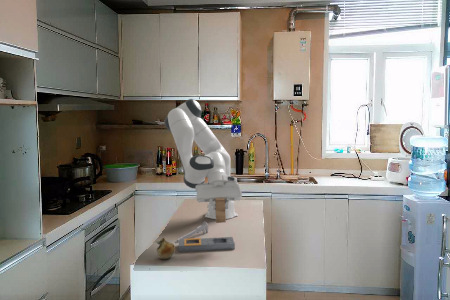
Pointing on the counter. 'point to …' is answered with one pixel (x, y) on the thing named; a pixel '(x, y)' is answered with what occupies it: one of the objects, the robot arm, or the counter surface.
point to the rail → (206, 244)
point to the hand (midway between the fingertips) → (220, 208)
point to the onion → (165, 249)
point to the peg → (220, 210)
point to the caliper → (195, 231)
